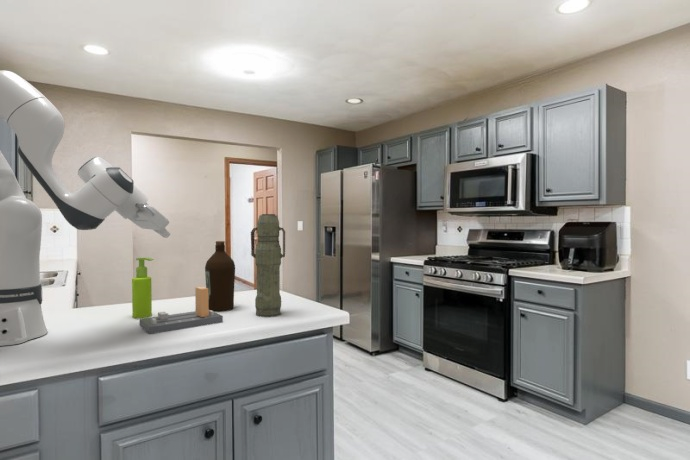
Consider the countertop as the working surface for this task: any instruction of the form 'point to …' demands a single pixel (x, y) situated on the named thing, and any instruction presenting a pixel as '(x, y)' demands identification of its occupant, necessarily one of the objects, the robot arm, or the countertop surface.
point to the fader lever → (202, 301)
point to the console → (177, 321)
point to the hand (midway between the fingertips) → (167, 236)
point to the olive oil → (220, 279)
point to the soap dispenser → (141, 291)
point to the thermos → (268, 265)
